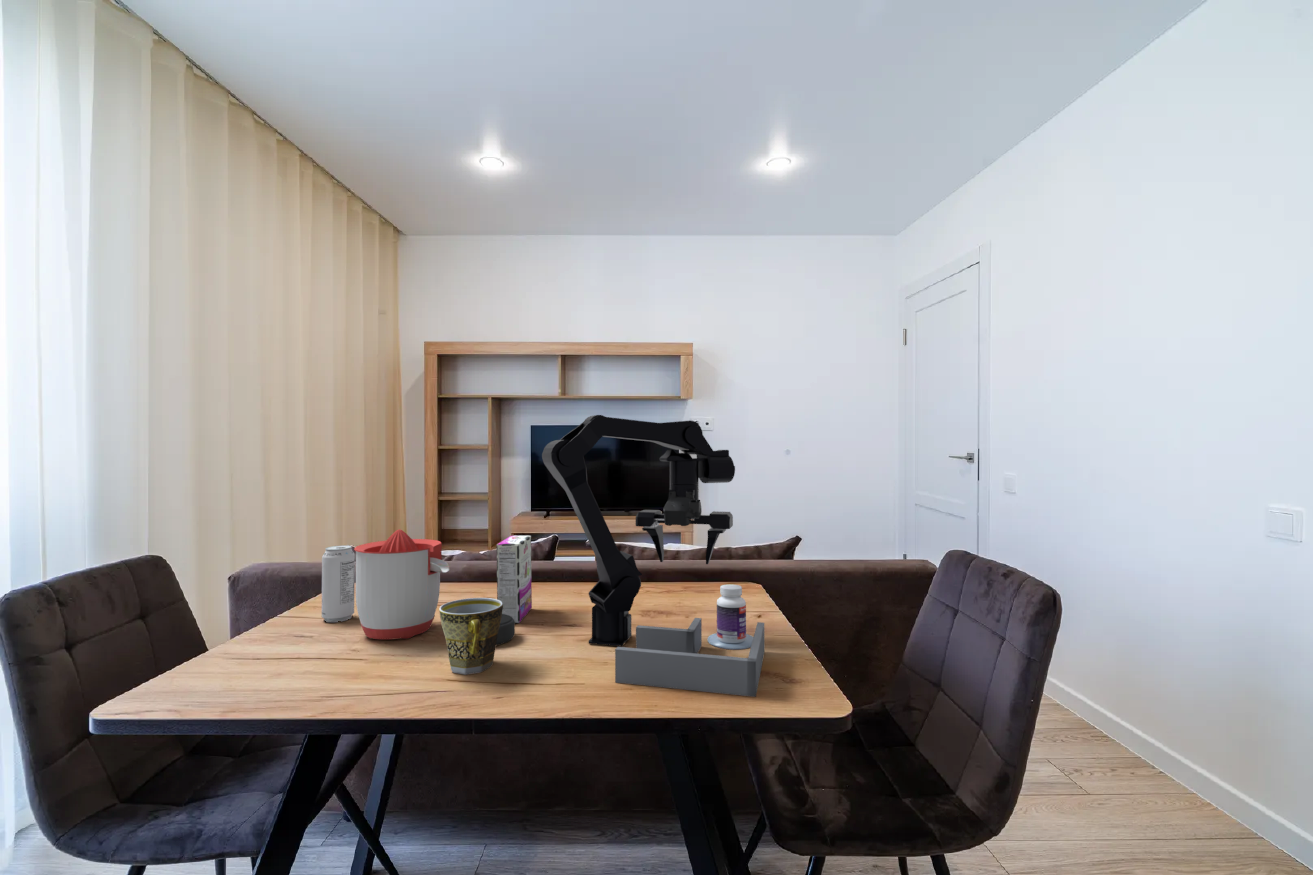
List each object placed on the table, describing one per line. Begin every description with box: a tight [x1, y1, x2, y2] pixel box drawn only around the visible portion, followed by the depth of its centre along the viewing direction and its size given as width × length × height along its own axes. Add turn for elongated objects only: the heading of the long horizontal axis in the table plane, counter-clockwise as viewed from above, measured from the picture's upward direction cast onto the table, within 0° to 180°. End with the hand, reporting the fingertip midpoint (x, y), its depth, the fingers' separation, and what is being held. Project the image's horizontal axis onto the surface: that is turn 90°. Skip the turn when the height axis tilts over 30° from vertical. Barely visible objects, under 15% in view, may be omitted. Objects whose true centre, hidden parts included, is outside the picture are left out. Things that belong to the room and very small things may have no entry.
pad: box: [707, 632, 754, 651], centre depth 107 cm, size 9×9×1 cm
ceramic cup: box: [438, 597, 503, 676], centre depth 93 cm, size 13×10×10 cm
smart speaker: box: [496, 614, 516, 646], centre depth 108 cm, size 9×9×4 cm
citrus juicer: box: [353, 528, 450, 640], centre depth 113 cm, size 16×17×20 cm
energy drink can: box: [321, 545, 356, 623], centre depth 121 cm, size 6×6×15 cm
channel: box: [614, 617, 766, 698], centre depth 95 cm, size 21×19×5 cm
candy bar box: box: [496, 534, 533, 624], centre depth 123 cm, size 11×5×16 cm, turn 179°
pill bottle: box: [716, 584, 747, 643], centre depth 107 cm, size 5×5×10 cm
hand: (684, 562), depth 114 cm, fingers open, 9 cm apart
